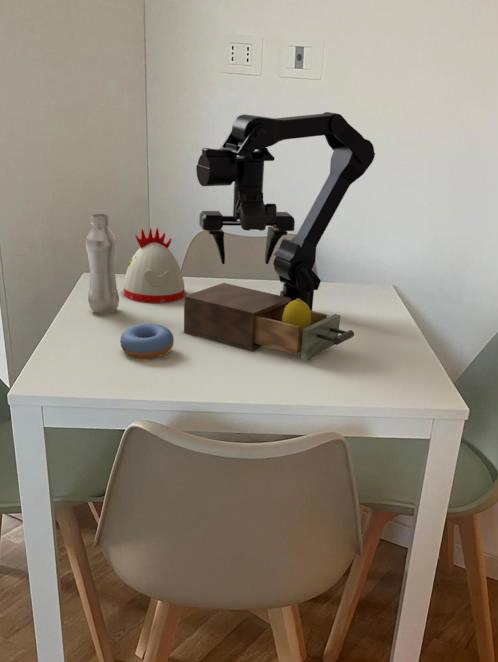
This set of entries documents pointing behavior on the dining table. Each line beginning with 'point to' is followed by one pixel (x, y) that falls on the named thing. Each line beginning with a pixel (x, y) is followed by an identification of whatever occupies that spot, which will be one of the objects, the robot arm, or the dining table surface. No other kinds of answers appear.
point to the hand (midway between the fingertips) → (245, 263)
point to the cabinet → (228, 313)
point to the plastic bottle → (102, 265)
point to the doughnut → (146, 341)
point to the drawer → (288, 335)
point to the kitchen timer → (153, 272)
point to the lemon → (297, 314)
